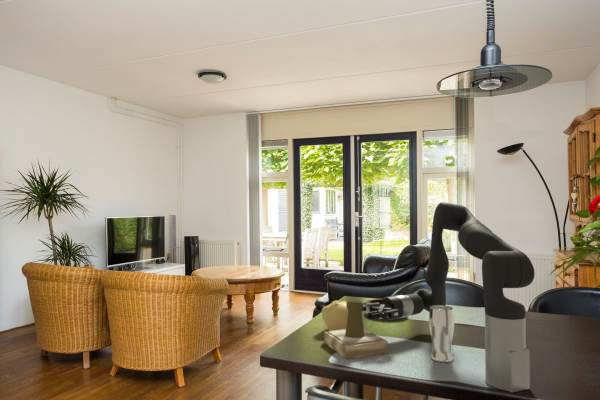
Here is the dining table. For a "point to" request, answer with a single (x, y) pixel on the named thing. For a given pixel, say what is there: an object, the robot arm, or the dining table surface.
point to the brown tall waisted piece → (354, 319)
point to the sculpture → (335, 315)
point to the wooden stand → (355, 344)
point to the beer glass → (441, 332)
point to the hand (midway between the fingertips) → (359, 313)
